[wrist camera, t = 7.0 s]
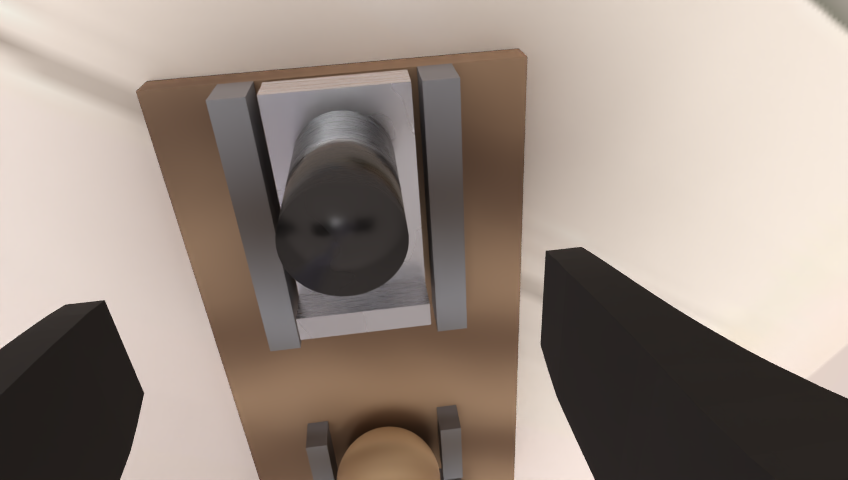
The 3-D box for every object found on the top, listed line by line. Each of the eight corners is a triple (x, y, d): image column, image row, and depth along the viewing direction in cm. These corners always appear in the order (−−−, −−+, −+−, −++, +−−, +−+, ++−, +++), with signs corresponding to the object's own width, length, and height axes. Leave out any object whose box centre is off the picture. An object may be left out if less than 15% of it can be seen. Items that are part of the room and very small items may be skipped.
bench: (508, 468, 28) (534, 561, 24) (274, 500, 27) (262, 601, 23) (518, 48, 18) (566, 92, 14) (146, 81, 17) (87, 136, 13)
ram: (422, 280, 20) (446, 404, 15) (305, 293, 20) (291, 424, 15) (407, 69, 16) (431, 144, 11) (262, 82, 16) (224, 164, 11)
